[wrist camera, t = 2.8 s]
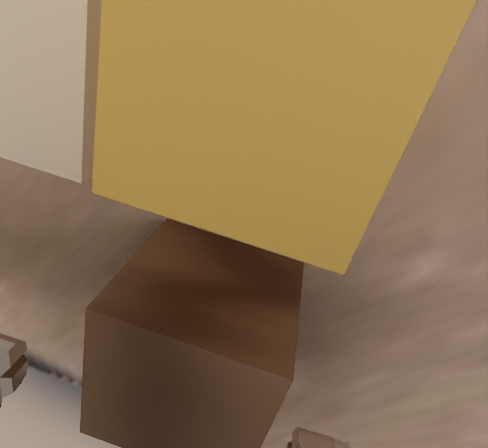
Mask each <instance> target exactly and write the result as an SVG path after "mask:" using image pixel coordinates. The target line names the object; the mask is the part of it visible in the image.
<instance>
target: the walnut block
mask: <svg viewBox="0 0 488 448" xmlns="http://www.w3.org/2000/svg"><path fill="white" fill-rule="evenodd" d="M303 265H304V263H302V262H299V261H296V260H293V259H290V258H287V257H284V256H280V255H277V254H274V253H271V252H268V251H265V250H262V249H259V248H256V247H253V246H250V245H247V244H244V243H241V242H237V241H234V240H231V239H228V238H225V237H222V236H219V235H216V234H213V233H210V232H207V231H204V230H201V229H198V228H194V227H191V226H188V225H185V224H182V223H179V222H176V221H173V220H170V219H166V221H165V222H164V223H163V224H162V225H161V226H160V227H159V228H158V229H157V230H156V232H155V233H154V234H153V235H152V236H151V237H150V238H149V239H148V240H147V242H146V243H145V244H144V245H143V246H142V247H141V248H140V249H139V250H138V252H137V253H136V254H135V255H134V256H133V257H132V258H131V259H130V260H129V261H128V263H127V264H126V265H125V266H124V267H123V268H122V269H121V270H120V271H119V273H118V274H117V275H116V276H115V277H114V278H113V279H112V280H111V281H110V282H109V284H108V285H107V286H106V287H105V288H104V289H103V290H102V291H101V292H100V294H99V295H98V296H97V297H96V298H95V299H94V300H93V301H92V302H91V303H90V305H89V306H88V307H87V308H86V316H85V337H84V358H83V379H82V401H81V423H80V432H81V433H84V434H86V435H89V436H92V437H95V438H97V439H100V440H103V441H106V442H108V443H111V444H114V445H117V446H119V447H122V448H261V446H262V444H263V441H264V439H265V437H266V435H267V433H268V431H269V429H270V427H271V425H272V423H273V421H274V419H275V417H276V414H277V412H278V410H279V408H280V406H281V404H282V402H283V400H284V398H285V396H286V394H287V392H288V390H289V388H290V385H291V383H292V381H293V374H294V363H295V352H296V342H297V331H298V320H299V309H300V298H301V287H302V276H303Z"/></svg>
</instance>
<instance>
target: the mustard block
mask: <svg viewBox="0 0 488 448" xmlns="http://www.w3.org/2000/svg"><path fill="white" fill-rule="evenodd" d="M476 2H477V0H102V7H101V26H100V45H99V64H98V83H97V102H96V120H95V139H94V158H93V177H92V193H94V194H97V195H100V196H103V197H106V198H109V199H112V200H115V201H118V202H121V203H124V204H128V205H131V206H134V207H137V208H140V209H143V210H146V211H149V212H152V213H155V214H158V215H161V216H164V217H167V218H170V219H173V220H177V221H180V222H183V223H186V224H189V225H192V226H195V227H198V228H201V229H204V230H207V231H210V232H213V233H216V234H219V235H223V236H226V237H229V238H232V239H235V240H238V241H241V242H244V243H247V244H250V245H253V246H256V247H259V248H262V249H265V250H268V251H272V252H275V253H278V254H281V255H284V256H287V257H290V258H293V259H296V260H299V261H302V262H305V263H308V264H311V265H314V266H317V267H321V268H324V269H327V270H330V271H333V272H336V273H339V274H342V275H344V274H345V272H346V270H347V268H348V266H349V264H350V262H351V260H352V257H353V255H354V253H355V251H356V249H357V247H358V245H359V243H360V241H361V239H362V237H363V235H364V233H365V231H366V229H367V227H368V224H369V222H370V220H371V218H372V216H373V214H374V212H375V210H376V208H377V206H378V204H379V202H380V200H381V198H382V196H383V194H384V191H385V189H386V187H387V185H388V183H389V181H390V179H391V177H392V175H393V173H394V171H395V169H396V167H397V165H398V163H399V161H400V158H401V156H402V154H403V152H404V150H405V148H406V146H407V144H408V142H409V140H410V138H411V136H412V134H413V132H414V130H415V127H416V125H417V123H418V121H419V119H420V117H421V115H422V113H423V111H424V109H425V107H426V105H427V103H428V101H429V99H430V97H431V94H432V92H433V90H434V88H435V86H436V84H437V82H438V80H439V78H440V76H441V74H442V72H443V70H444V68H445V66H446V64H447V61H448V59H449V57H450V55H451V53H452V51H453V49H454V47H455V45H456V43H457V41H458V39H459V37H460V35H461V33H462V30H463V28H464V26H465V24H466V22H467V20H468V18H469V16H470V14H471V12H472V10H473V8H474V6H475V4H476Z"/></svg>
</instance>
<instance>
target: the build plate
mask: <svg viewBox="0 0 488 448" xmlns="http://www.w3.org/2000/svg"><path fill="white" fill-rule="evenodd" d="M101 7H102V0H0V157H1V158H4V159H7V160H10V161H13V162H16V163H19V164H22V165H25V166H28V167H31V168H35V169H38V170H41V171H44V172H47V173H50V174H53V175H56V176H59V177H62V178H65V179H69V180H72V181H75V182H78V183H81V184H82V183H83V182H85V181H87V180H89V179H90V178H92V177H93V158H94V139H95V120H96V102H97V83H98V64H99V45H100V26H101Z"/></svg>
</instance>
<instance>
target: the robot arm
mask: <svg viewBox="0 0 488 448" xmlns="http://www.w3.org/2000/svg"><path fill="white" fill-rule="evenodd" d="M26 350H27V347H26V342H25V341H22V340H19V339H16V338H13V337H10V336H7V335H4V334H1V333H0V407H1V403H2V398H3V397H5V396H7V395H10V394H11V393H13V392H14V391H15V390H16V389H17V388H18V386H19V385H20V384H21V382H22V380H23V379H24V377H25V375H26V373H27V368H28V360H27V359H26V357H25V356H24V355H23V353H24V352H25V351H26ZM286 448H352V447H351V445H350V443H348V442H345V441H341V440H338V439H334V438H331V437H330V436H327V435H323V434H320V433H317V432H313V431H310V430H307V429H303V428H300V427H297V428H295V430H294V432H293V434H292V442H289V443H288V444H287V446H286Z"/></svg>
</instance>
